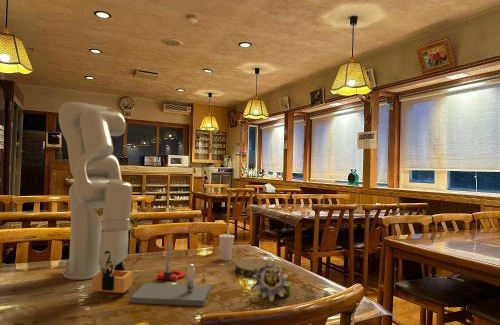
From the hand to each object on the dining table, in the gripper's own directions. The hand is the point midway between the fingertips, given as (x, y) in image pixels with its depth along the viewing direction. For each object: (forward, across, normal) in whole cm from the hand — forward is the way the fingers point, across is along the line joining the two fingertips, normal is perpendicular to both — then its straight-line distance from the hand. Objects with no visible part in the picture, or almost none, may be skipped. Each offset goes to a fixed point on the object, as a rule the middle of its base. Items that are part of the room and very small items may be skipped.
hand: (113, 284), depth 101 cm
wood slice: (+2, -27, +42) cm, 50 cm away
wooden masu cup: (+1, 0, 0) cm, 1 cm away
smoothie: (+3, -42, +29) cm, 51 cm away
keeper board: (+2, +1, +18) cm, 18 cm away
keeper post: (0, +1, +23) cm, 23 cm away
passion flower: (+1, -3, +46) cm, 46 cm away
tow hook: (+3, -17, +13) cm, 22 cm away
